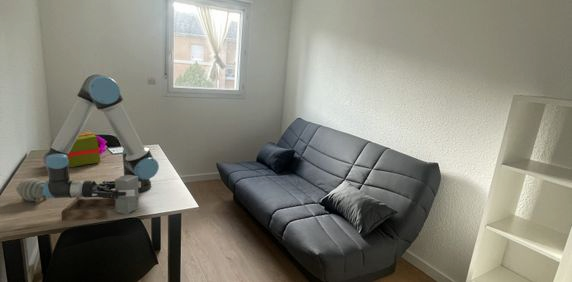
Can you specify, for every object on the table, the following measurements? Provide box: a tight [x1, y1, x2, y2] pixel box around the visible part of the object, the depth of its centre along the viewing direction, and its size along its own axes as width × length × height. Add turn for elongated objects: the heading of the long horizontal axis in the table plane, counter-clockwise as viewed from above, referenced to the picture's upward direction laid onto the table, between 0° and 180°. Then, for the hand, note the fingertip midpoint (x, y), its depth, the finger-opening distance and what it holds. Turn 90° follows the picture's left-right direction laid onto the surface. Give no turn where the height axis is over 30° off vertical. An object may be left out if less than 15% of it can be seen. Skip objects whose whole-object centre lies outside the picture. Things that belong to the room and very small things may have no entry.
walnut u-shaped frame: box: [61, 197, 116, 221], centre depth 147 cm, size 18×14×4 cm
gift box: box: [67, 131, 108, 168], centre depth 213 cm, size 21×21×25 cm
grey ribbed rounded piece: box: [16, 178, 48, 204], centre depth 154 cm, size 11×17×11 cm, turn 86°
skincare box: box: [114, 174, 139, 215], centre depth 148 cm, size 8×7×16 cm
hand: (137, 188), depth 148 cm, fingers closed on skincare box, 10 cm apart
